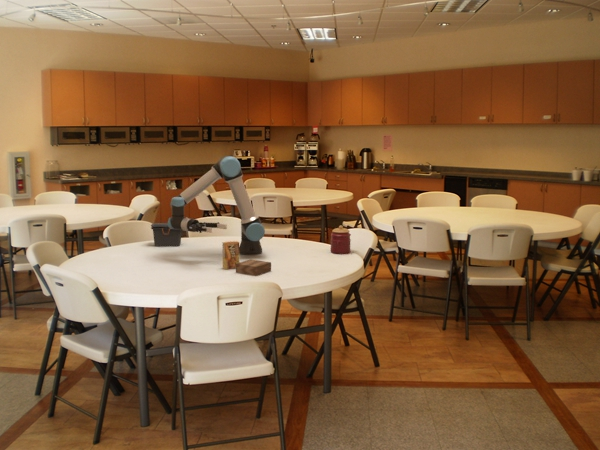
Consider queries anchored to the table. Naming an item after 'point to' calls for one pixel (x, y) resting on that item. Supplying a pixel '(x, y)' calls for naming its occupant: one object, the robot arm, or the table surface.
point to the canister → (340, 241)
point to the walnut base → (253, 267)
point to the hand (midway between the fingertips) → (219, 228)
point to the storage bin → (165, 235)
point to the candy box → (230, 254)
